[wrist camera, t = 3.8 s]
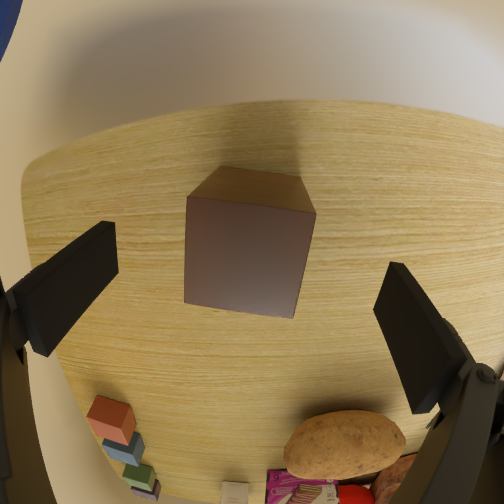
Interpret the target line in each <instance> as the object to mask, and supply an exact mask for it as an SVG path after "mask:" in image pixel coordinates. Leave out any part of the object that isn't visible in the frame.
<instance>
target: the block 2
mask: <svg viewBox="0 0 504 504" xmlns="http://www.w3.org/2000/svg"><path fill="white" fill-rule="evenodd" d="M102 446H103V447H104V449H105V451H106V452H107V454H108V456H109V457H110V458H112V459H115V460H118V461H121V462H124V463H127V464H130V465H134V466H137V467H139V464H140V461H141V458H142V455H143V452H144V449H145V447H144V444H143V441H142V439H141V436H140V434H138V433H135V432H133V434H132V437H131V440H130V442H129V445H128V446H127V445H124V444H121V443H118V442H115V441H112V440H109V439H106V438H104V440H103V443H102Z"/></svg>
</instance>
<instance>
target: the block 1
mask: <svg viewBox="0 0 504 504" xmlns="http://www.w3.org/2000/svg"><path fill="white" fill-rule="evenodd" d="M86 417H87V419H88V421H89V423H90V425H91V426H92V428H93V430H94V432H95V434H96V435H98V436H101V437H103V438H106V439H109V440H112V441H115V442H118V443H121V444H124V445H127V446H128V445H129V442H130V440H131V437H132V434H133V432H134V429H135V427H136V421H135V418H134V415H133V412H132V409H131V406H130V405H127V404H124V403H121V402H117V401H114V400H111V399H108V398H105V397H102V396H99V395H97V397H96V399H95V401H94V402H93V404H92V406H91V408H90V410H89V412H88V414H87V416H86Z"/></svg>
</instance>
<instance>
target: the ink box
mask: <svg viewBox="0 0 504 504" xmlns="http://www.w3.org/2000/svg"><path fill="white" fill-rule="evenodd" d="M248 501H249V483H239V482H227V481H223V482H222V489H221V496H220V503H219V504H248Z"/></svg>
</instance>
